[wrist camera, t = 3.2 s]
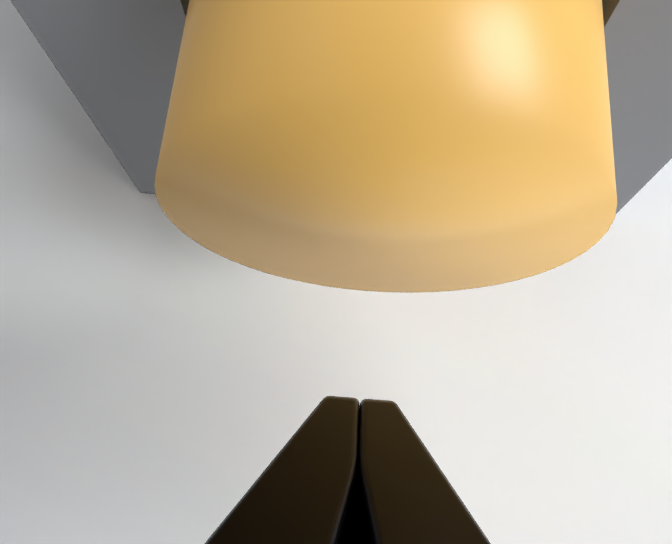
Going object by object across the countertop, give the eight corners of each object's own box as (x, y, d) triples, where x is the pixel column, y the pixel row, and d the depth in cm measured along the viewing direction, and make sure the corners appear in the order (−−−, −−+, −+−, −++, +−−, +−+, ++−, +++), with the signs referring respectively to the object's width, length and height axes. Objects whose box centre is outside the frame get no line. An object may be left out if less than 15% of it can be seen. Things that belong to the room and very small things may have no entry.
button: (534, 302, 11) (727, 117, 6) (206, 279, 12) (77, 75, 6) (527, 33, 13) (666, -307, 8) (246, 16, 13) (180, -327, 8)
